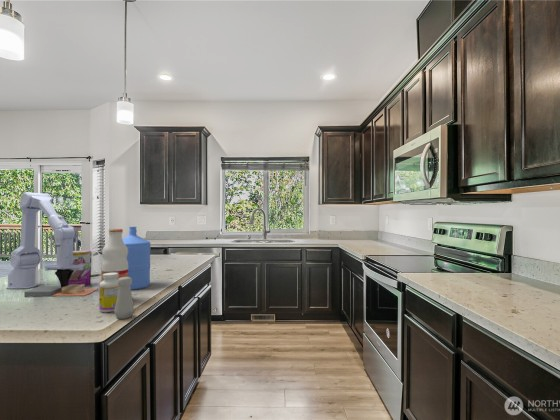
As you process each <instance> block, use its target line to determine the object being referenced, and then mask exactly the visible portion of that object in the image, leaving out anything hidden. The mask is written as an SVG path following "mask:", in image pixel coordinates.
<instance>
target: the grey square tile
mask: <svg viewBox="0 0 560 420" xmlns="http://www.w3.org/2000/svg"><path fill="white" fill-rule="evenodd" d="M61 291H62V288H61V285H41V286H38V287H35V288H32V289H29V290H26V291H24V297H25V298H26V297H27V298H28V297H29V298H32V297H34V298H35V297H36V298H39V297H42V298H43V297H45V298H46V297H53V296H52V295H54V294H56V293H59V292H61Z"/></svg>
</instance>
